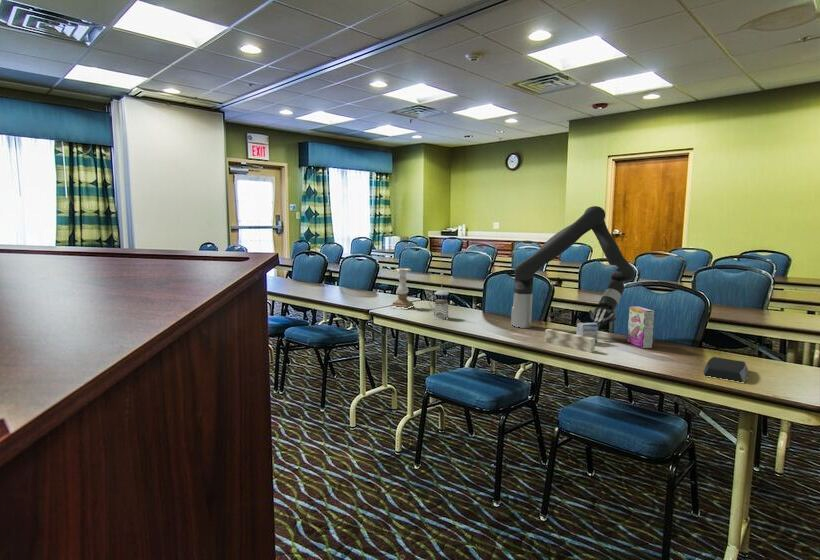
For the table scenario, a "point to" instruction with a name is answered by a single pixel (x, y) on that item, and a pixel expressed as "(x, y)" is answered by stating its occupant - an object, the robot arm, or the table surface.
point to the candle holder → (402, 290)
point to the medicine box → (588, 330)
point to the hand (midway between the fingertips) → (594, 329)
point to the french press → (443, 304)
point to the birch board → (570, 340)
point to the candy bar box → (640, 327)
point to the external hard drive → (726, 369)
